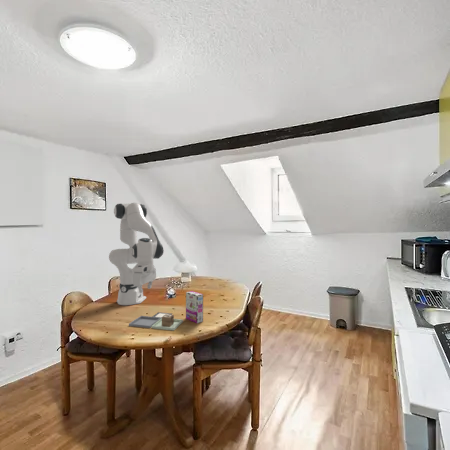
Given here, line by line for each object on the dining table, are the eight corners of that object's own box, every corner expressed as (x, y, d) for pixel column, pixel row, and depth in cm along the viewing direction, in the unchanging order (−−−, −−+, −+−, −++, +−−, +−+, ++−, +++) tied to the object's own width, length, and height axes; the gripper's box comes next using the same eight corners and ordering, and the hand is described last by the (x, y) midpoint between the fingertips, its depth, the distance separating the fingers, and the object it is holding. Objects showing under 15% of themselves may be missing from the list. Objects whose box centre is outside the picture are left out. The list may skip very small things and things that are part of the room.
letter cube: (165, 322, 159) (165, 313, 159) (173, 323, 158) (173, 314, 158) (161, 326, 154) (161, 316, 154) (170, 326, 153) (170, 317, 153)
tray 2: (162, 320, 164) (162, 317, 164) (183, 322, 161) (183, 319, 161) (151, 328, 151) (151, 325, 151) (173, 331, 148) (173, 328, 148)
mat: (158, 312, 177) (158, 312, 177) (172, 314, 175) (172, 313, 175) (150, 318, 167) (150, 317, 167) (165, 319, 165) (165, 318, 165)
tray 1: (141, 318, 167) (141, 315, 167) (161, 320, 164) (161, 317, 164) (128, 326, 155) (128, 323, 154) (150, 328, 151) (150, 325, 151)
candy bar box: (203, 321, 162) (203, 294, 162) (197, 324, 158) (197, 295, 158) (192, 317, 170) (192, 290, 170) (185, 319, 166) (185, 292, 166)
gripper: (149, 263, 170) (149, 285, 170) (130, 269, 150) (130, 294, 150) (158, 263, 168) (158, 286, 168) (141, 269, 148) (141, 295, 149)
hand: (145, 290), depth 159 cm, fingers open, 8 cm apart
